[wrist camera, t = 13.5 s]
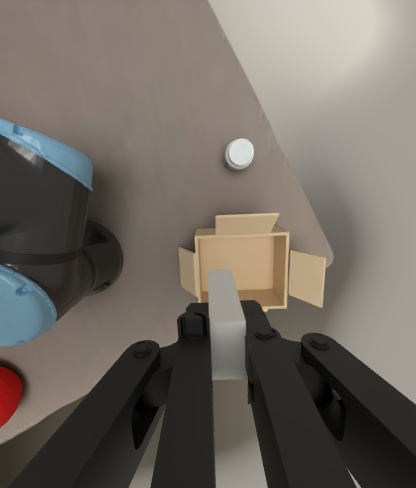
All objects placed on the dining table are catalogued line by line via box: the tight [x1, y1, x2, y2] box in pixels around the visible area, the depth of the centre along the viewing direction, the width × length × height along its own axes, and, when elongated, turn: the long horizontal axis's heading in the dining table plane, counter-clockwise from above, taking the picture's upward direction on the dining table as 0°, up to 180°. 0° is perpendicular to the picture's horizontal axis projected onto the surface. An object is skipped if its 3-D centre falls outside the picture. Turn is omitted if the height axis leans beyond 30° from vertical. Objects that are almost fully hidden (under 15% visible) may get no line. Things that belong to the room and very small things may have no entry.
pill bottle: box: [223, 139, 254, 171], centre depth 41 cm, size 5×5×8 cm
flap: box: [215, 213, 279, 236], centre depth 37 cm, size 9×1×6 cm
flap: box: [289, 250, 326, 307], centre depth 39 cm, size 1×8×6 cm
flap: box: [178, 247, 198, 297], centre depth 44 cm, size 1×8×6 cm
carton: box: [195, 225, 289, 309], centre depth 46 cm, size 16×14×8 cm
